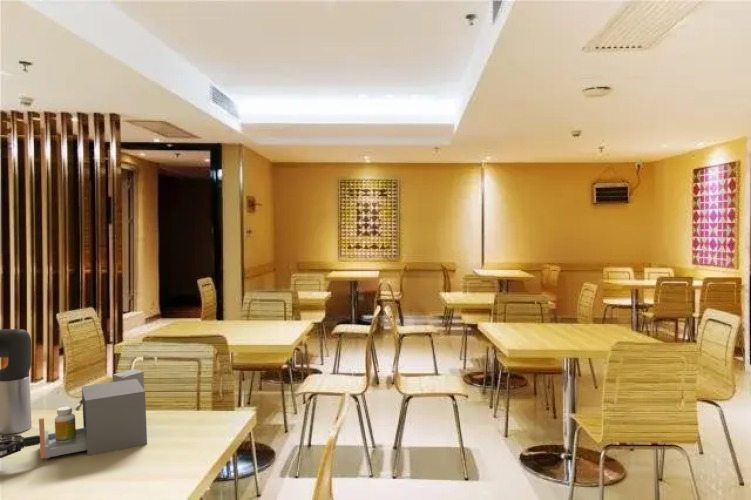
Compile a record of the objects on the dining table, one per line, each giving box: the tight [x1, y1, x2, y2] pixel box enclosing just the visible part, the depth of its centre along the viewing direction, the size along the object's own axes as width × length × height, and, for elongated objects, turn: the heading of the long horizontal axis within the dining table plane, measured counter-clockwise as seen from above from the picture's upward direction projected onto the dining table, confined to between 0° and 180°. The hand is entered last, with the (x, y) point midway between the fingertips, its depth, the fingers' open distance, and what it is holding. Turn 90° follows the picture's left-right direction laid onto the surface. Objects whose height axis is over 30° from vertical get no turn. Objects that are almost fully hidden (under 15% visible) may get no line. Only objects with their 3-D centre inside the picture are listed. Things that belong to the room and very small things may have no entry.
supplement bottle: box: [54, 406, 77, 443], centre depth 171 cm, size 5×5×10 cm
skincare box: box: [112, 368, 145, 390], centre depth 198 cm, size 8×7×16 cm
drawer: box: [38, 417, 87, 459], centre depth 170 cm, size 15×16×11 cm
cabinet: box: [81, 379, 148, 456], centre depth 175 cm, size 18×16×16 cm
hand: (39, 439), depth 160 cm, fingers closed
